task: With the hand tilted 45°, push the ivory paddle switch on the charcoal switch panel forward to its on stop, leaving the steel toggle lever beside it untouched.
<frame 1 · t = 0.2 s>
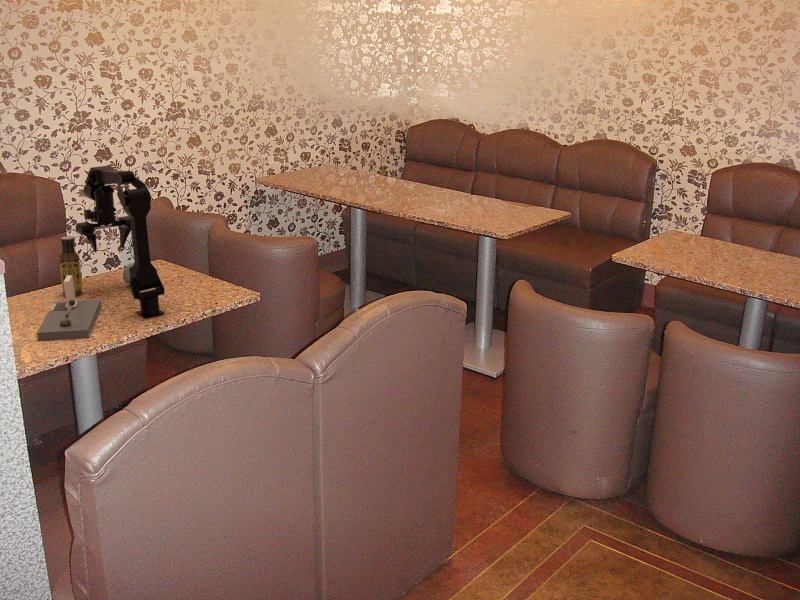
hand: (108, 250, 266), 15 cm above the table, tool pointing down, fingers open, 9 cm apart
steel toggle lever: (70, 306, 234), point 8 cm above the table, hinge at -25.0°
ceramic mug: (142, 285, 278), on the table
ivory paddle: (69, 291, 248), point 7 cm above the table, slide at 0.0 cm
switch panel: (71, 322, 244), on the table
sauce bottle: (73, 294, 268), on the table
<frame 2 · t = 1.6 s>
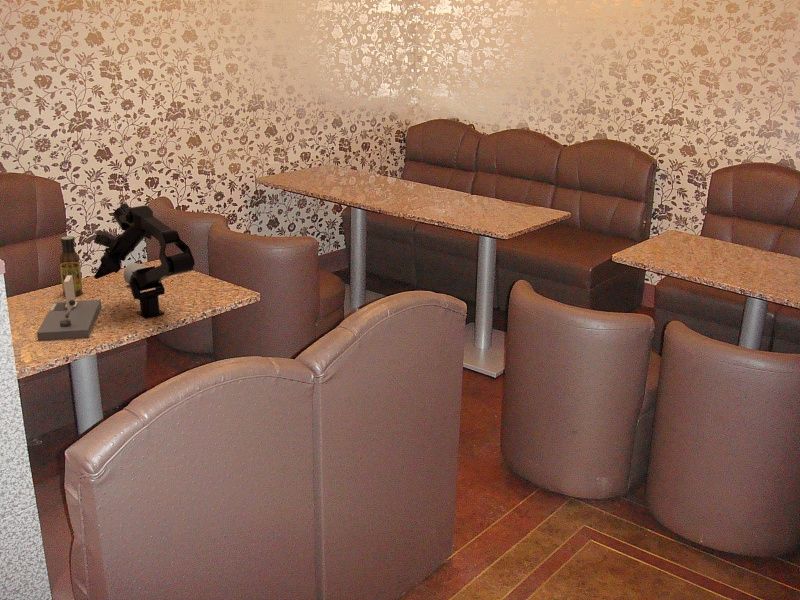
hand: (96, 274, 248), 13 cm above the table, tool tilted 45°, fingers open, 6 cm apart
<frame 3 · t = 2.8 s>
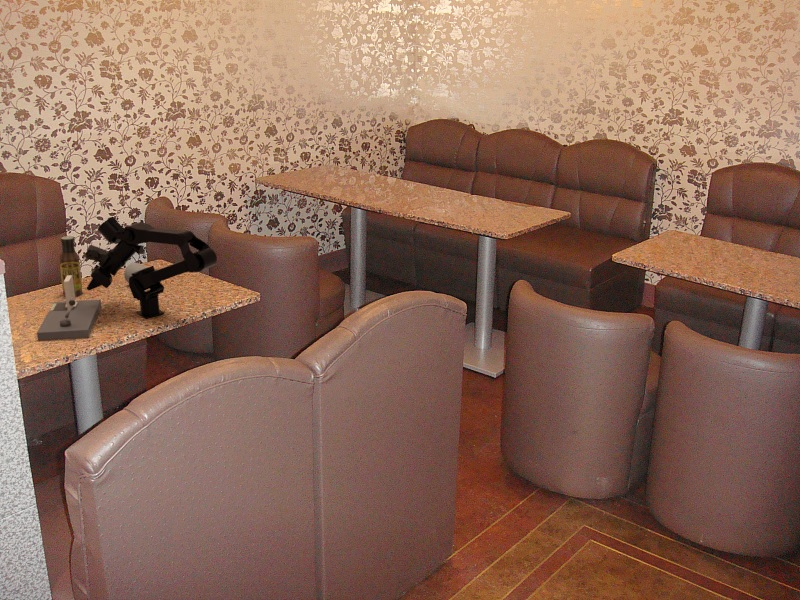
hand: (87, 289, 249), 8 cm above the table, tool tilted 45°, fingers closed
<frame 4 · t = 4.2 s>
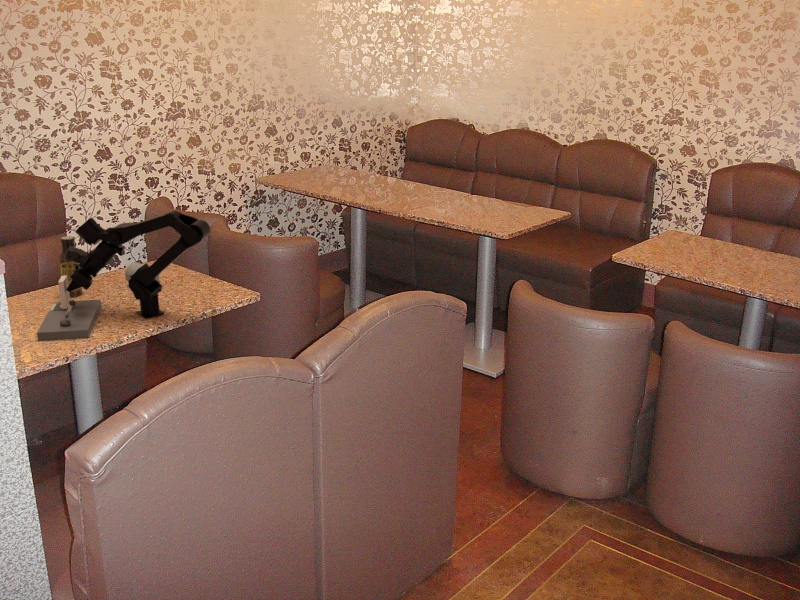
hand: (67, 290, 248), 8 cm above the table, tool tilted 45°, fingers closed, pressing on ivory paddle
ivory paddle: (64, 292, 248), point 7 cm above the table, slide at 1.6 cm, touching gripper
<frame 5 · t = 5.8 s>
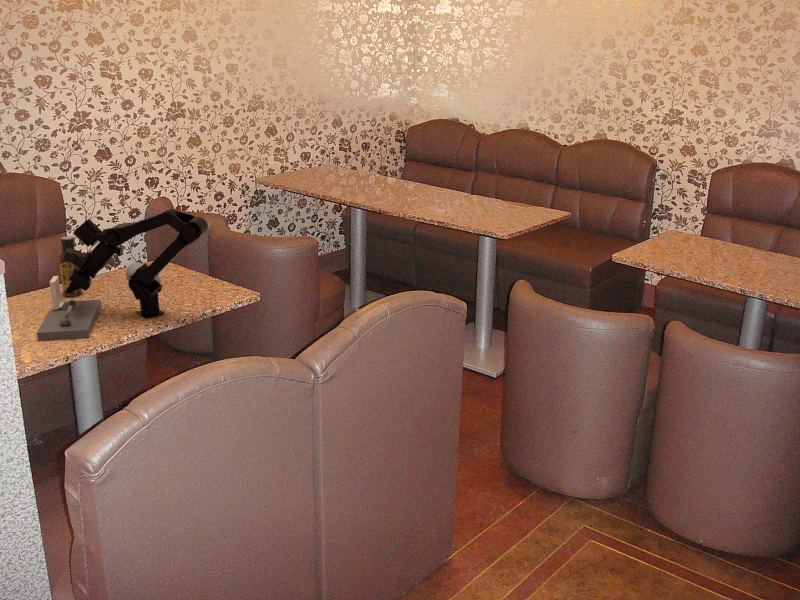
hand: (66, 292, 248), 7 cm above the table, tool tilted 45°, fingers closed
ivory paddle: (56, 292, 248), point 7 cm above the table, slide at 4.0 cm
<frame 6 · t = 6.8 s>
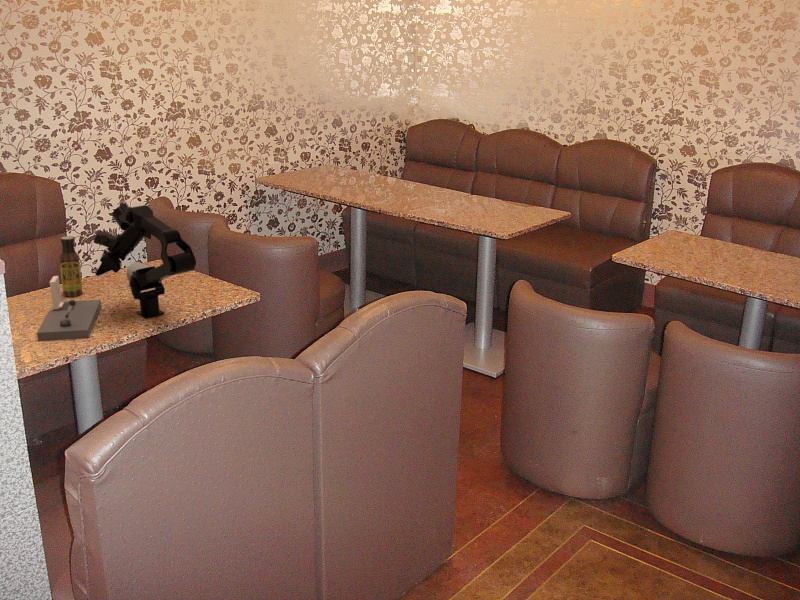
hand: (96, 274, 248), 13 cm above the table, tool tilted 45°, fingers closed
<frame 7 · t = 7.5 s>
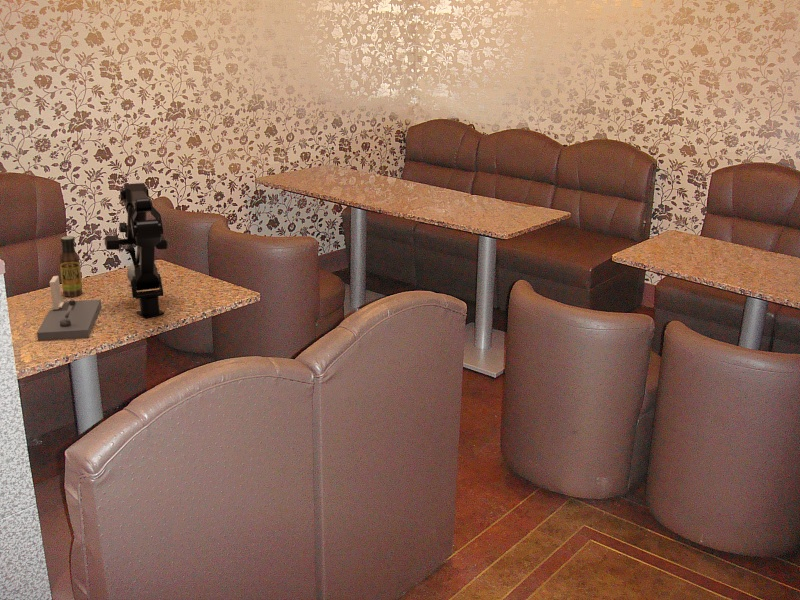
hand: (135, 267, 258), 12 cm above the table, tool pointing down, fingers closed
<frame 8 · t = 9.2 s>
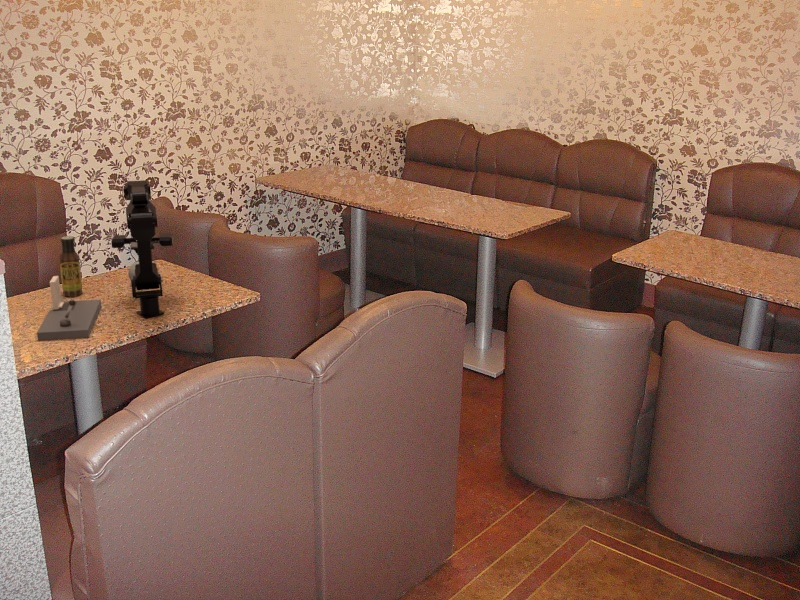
hand: (145, 265, 259), 12 cm above the table, tool pointing down, fingers closed
at the end: ivory paddle slide at 4.0 cm; steel toggle lever at -25° (first picture: -25°) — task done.
